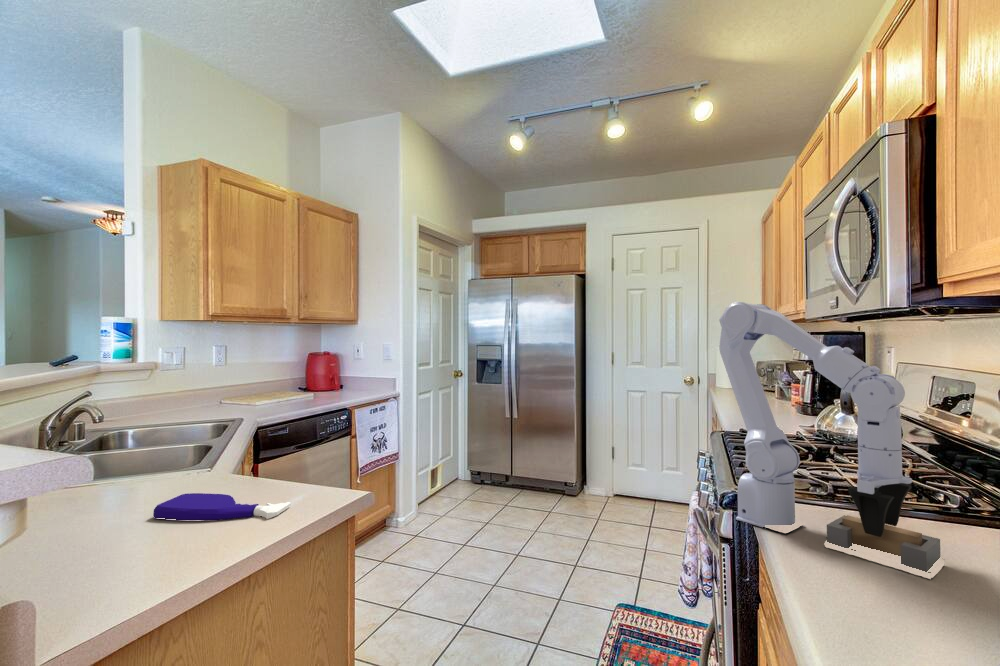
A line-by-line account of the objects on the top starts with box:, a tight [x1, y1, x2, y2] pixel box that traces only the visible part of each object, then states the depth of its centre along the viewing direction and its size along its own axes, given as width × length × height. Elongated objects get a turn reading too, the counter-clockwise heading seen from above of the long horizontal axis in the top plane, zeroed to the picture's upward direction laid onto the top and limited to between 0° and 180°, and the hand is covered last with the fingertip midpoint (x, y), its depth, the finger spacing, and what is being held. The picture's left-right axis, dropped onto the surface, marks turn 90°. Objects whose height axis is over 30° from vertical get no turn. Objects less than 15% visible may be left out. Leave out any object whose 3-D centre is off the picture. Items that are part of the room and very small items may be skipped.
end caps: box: [826, 515, 942, 572], centre depth 78 cm, size 13×8×3 cm, turn 36°
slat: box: [842, 514, 923, 556], centre depth 78 cm, size 10×2×4 cm, turn 36°
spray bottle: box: [152, 492, 292, 521], centre depth 97 cm, size 3×11×24 cm
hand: (881, 529), depth 78 cm, fingers open, 7 cm apart
